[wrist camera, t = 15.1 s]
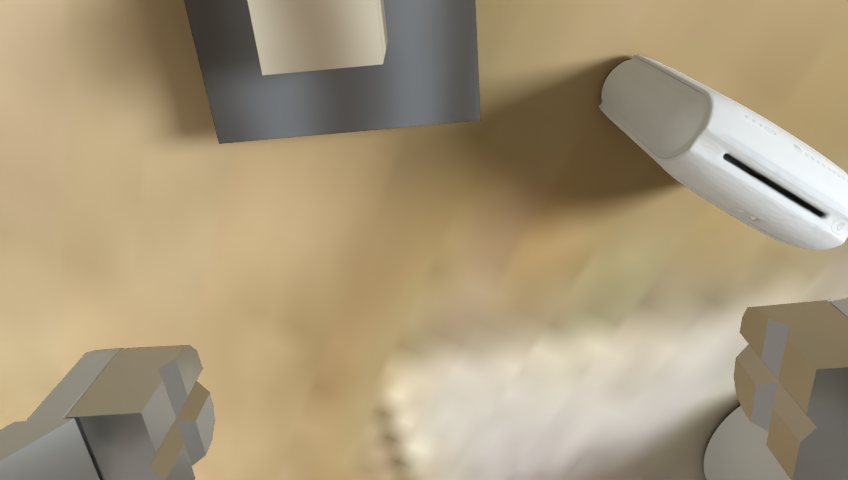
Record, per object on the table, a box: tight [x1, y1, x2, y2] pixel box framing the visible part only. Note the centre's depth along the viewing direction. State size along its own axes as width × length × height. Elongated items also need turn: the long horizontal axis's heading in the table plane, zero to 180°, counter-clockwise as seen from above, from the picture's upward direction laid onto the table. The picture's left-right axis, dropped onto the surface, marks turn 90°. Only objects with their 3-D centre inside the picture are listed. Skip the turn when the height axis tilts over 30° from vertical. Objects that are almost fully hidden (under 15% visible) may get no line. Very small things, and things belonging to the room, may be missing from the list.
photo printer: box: [599, 55, 848, 250], centre depth 31 cm, size 10×4×12 cm, turn 61°
